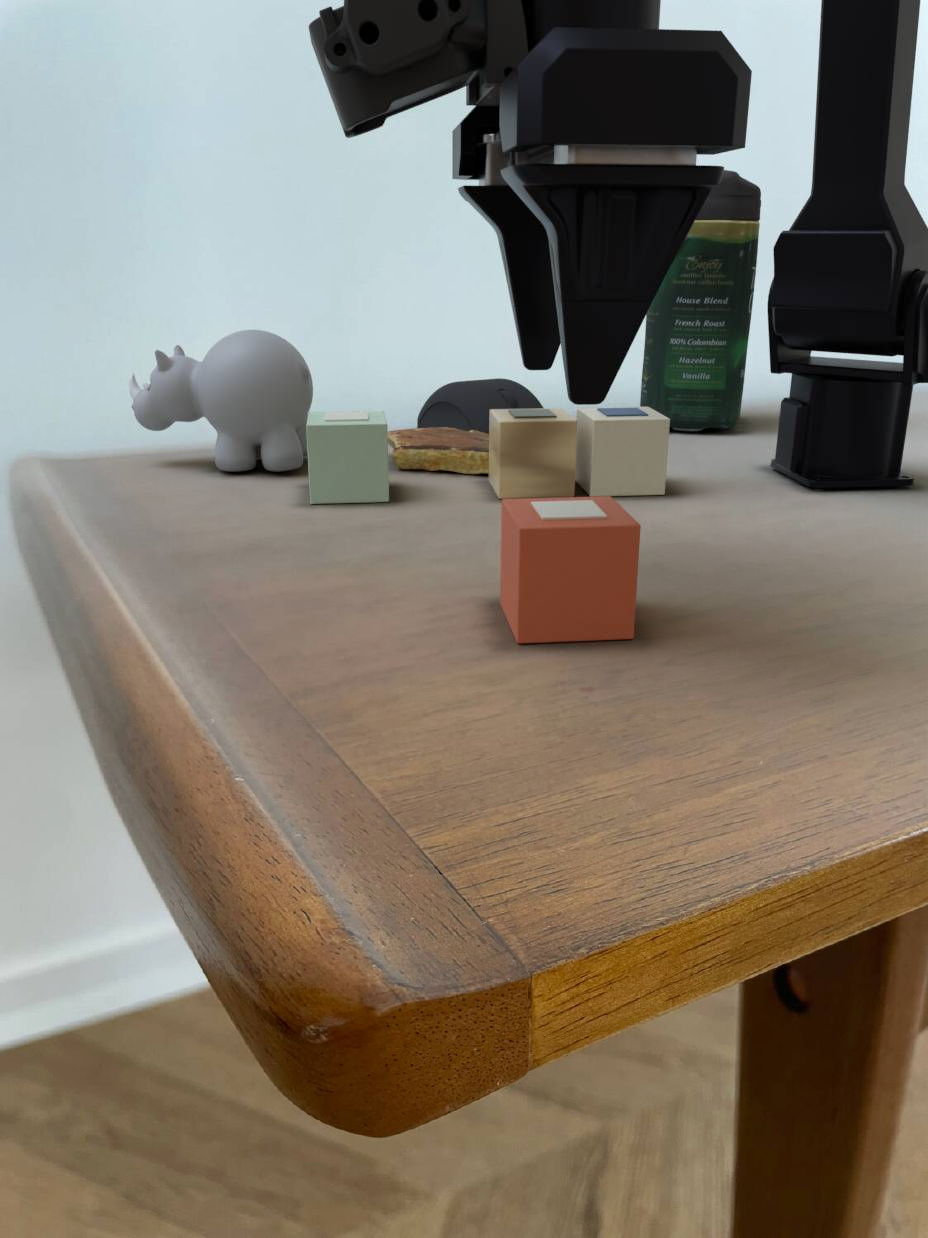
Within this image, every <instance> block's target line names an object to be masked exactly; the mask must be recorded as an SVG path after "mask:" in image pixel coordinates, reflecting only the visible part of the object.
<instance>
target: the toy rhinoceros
mask: <svg viewBox="0 0 928 1238" xmlns="http://www.w3.org/2000/svg"><path fill="white" fill-rule="evenodd" d="M154 356H155V361H156V366H155V367H154V369H152V371H151V373H150V376H149V381H150V382H149V383H148V382H146V381H143V382H142V387H143V389H142V388H141V386H140V385H139V384H138V382H137V379H136V376H135V373H134V372H132V373H131V375H130V377H129V381H128V391H129V395H130V397H131V399H132V404H131V409H132V410H133V415H134V417H135V419H136V421H137V423H138V424H139V425H140V426H142V427H143V428H145V429H147V430H148V431H151V432H152V431H153V432H162V431H165V430H167V429H168V428H170V427H172V425H173V424H174V423H176V422H178V423H179V422H182V423H193V422H197V421H198V420H200V419H201V418H205V419H206V420H207V421H208V423H209V424H210V425H211V427H212V428H213V429H214V430H215V431H216V433H217V434H216V435H217V436H216V441H215V444H214V463H215V466H216V468H217V469H219V470H220V471H224V472H230V473H231V472H232V473H235V472H237V473H238V472H239V473H240V472H245V471H250V470H253V469H254V468H255V467H256V466H257V461H259V460H261V463H262V466H263V468H264V469H265V470H266V471H269V472H277V473H278V472H288V471H293V470H296V469H299V468H301V467H302V466H303V464H304V458H306V457H308V451H307V432H306V424H307V418H308V413H309V412H310V410H311V407H312V404H313V399H314V383H313V377H312V375H311V374H312V373H311V371H310V368H309V366H308V364H307V362H306V360H305V358H304V356H303V355H302V354H301V353H300V351H299V350H298V349H297V348H296V347H295V346H294V345H293V344H292V343H290V341H288V340H287V339H285V338H283V337H282V336H280V335H278V334H275V333H273V332H270V331H266V330H261V329H244V330H239V331H235V332H232V333H229V334H228V335H226V336H224V337H222V338H220V339H219V340H217V342H215V343H214V344H213V345H212V346H211V347H210V349H209V350H208V351H207V352H206V353H205V355H204V357H203V358H202V361H200V360H196V359H195V358H193V357H190V356H186V354H185V351H184V349H183V348H182V346H180V345H179V344H176V345H175V346H174V347H173V356H168V355H167V354H166V353H165V352H163V351H161V350H159V349H156V350H155V351H154Z"/></svg>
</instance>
